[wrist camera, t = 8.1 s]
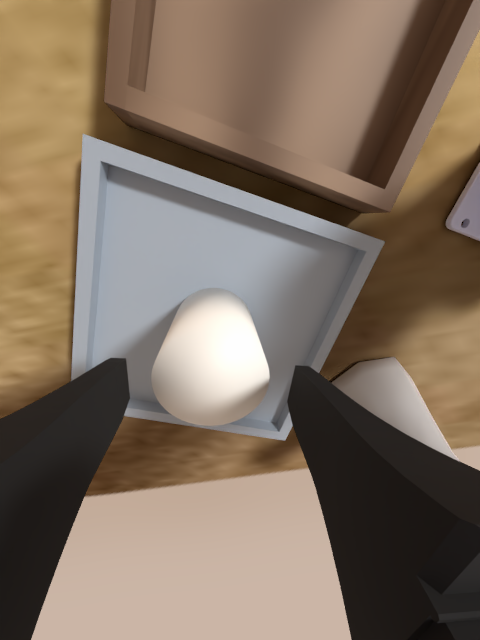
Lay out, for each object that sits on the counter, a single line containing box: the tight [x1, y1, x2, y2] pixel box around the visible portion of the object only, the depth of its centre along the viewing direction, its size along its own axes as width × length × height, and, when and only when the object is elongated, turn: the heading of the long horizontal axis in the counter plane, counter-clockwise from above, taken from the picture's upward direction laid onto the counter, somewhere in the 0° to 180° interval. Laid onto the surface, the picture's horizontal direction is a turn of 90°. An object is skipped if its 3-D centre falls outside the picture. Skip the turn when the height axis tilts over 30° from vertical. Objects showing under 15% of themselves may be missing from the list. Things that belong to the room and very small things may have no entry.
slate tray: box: [71, 134, 385, 441], centre depth 15 cm, size 16×16×2 cm
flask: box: [332, 357, 460, 462], centre depth 15 cm, size 7×7×10 cm
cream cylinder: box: [151, 288, 270, 426], centre depth 13 cm, size 5×5×6 cm
